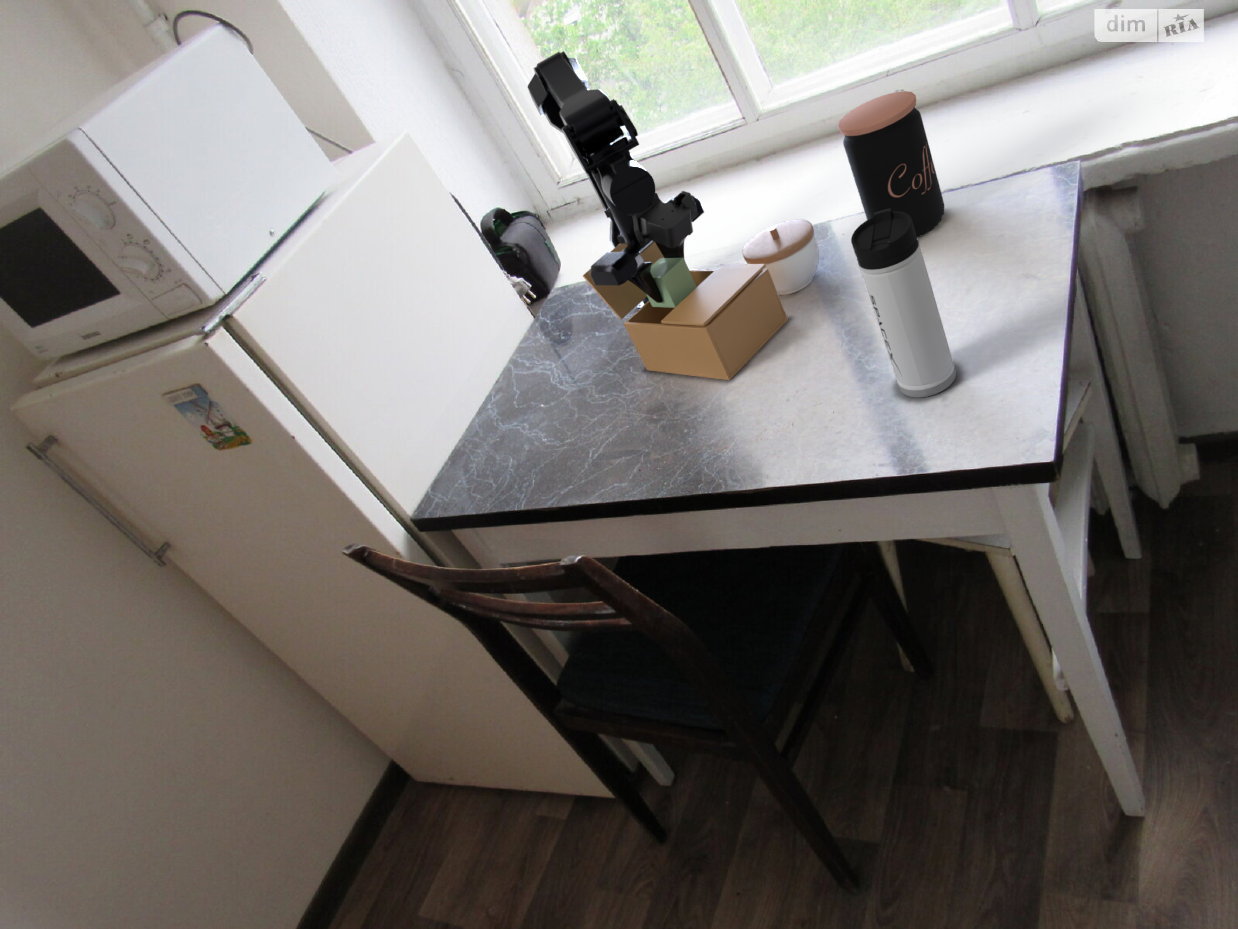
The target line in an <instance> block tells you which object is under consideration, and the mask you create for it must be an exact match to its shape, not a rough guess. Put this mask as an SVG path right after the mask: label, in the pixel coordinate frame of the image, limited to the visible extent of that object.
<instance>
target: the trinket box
mask: <svg viewBox="0 0 1238 929" xmlns="http://www.w3.org/2000/svg"><path fill="white" fill-rule="evenodd" d="M741 254H742V257H743V259H744V261H745V263H746V264H765V265H766V267H765V268H764V269H768V270H769V273H770V275H771V278H772V280H773V283H774V285H775V288H776V291H777V293H778V296H786V295H791V294H794V293H797V292H799V291H801V290H803V289H805V288H806V287H808V286H809V285H810V284H811V283H812V282H813V280H814V275H815V274H816V271H817V270H818V266H819V263H820V249H819V244H818V240H817V237H816V234H815V229H814V225H813V224H812V222H810V221H809V220H807V219H804V218H803V219H801V218H796V219H795V218H794V219H790V220H784V221H782V222H779V223H776V224H773V225H771V226H769V227H767V228H764V229H763V230H761V231H760V232H758V233H757V234H755V235H754V236H752V237H751V238H750V239H749V240H748V241H747V242H746V243H745V245H744V246H743V249H742V253H741Z"/></svg>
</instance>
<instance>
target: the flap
mask: <svg viewBox="0 0 1238 929" xmlns="http://www.w3.org/2000/svg"><path fill="white" fill-rule="evenodd" d="M626 247H627V244H619V245H618V246H617V247H615V248H613V249H612V250H611V251H610V252H622V251H623V250H624V249H625V248H626ZM641 256H642V258H643V260H644V262H652V265H653V264H654V263H655V262H656V261H657V260H659V259H660V258H664V257H663V255H662V253H661V252H660V250H659V248H658V247H657V245H656V243H655V242H654V243H652V244H651V245H650V246H649V247H648V248H647V249H646V250H644V251H643V252H642V253H641ZM590 270H591V268H589V270H587V271H586V272H585V273H584V274H582V277H583V279H584V280H586V282H587V284H588V285H590V287H591V288H592V289H593V290H594V291H595V293H596V294H597V295H598V296H599V297H600V298H601V299H602V300H603V302H604V303H605V304H606V305H607V306H608V308H609V309H610V310H611V311H612V312H613V313H614V315H616V317H617V318H618V319H619V320H620V321H621V320H623V319H624V318H625V317H627V315H629V313H630V312H632V310H634V309H635V308H637V306H638V305H639V304H640V303H641V302H642V300H643V299H645V298H646V297H647V295H646V293H644V292H643V291H642V290H641V289H639V288H638V287H637V286H636V285H634V284H633V283H631V282H630V281H628V280H627V281H626V282H625V283H624V284H621V285H619V286H616V285H595V283H594V281H593V279H592V277H591V274H590Z"/></svg>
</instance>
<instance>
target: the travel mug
mask: <svg viewBox="0 0 1238 929" xmlns="http://www.w3.org/2000/svg"><path fill="white" fill-rule="evenodd" d="M873 216H874V217H872V218H870V219H868V220H867V219H866V220H865V221H864V222H862V223H861V224H859V226H857V228H856V229H854V231H853V233H852V235H851V239H850V242H851V246H852V249H853V252H854V255H855V257H856V261H857V265H858V268H859V270H860V274H861V278H862V280H863V284H864V287H865V290H866V293H867V296H868V298H869V301H870V304H871V308H872V310H873V315H874V316H875V320H876V323H877V326H878V328H879V332H880V334H881V335H880V336H881V337H882V341H883V344H884V347H885V350H886V353H887V355H888V359H889V362H890V364H891V368H892V370H893V373H894V377H895V379H896V383H897V386H898V390H900V392H901V393H902V394H903V395H905V396H907V397H911V398H926V397H931V396H934V395H937V394H939V393H941V392H943V391H944V390H946V389H948V387H950V386H951V385H952V384H953V383H954V381H955V379H956V376H957V370H956V367H955V363H954V360H953V356H952V353H951V349H950V346H949V342H948V338H947V336H946V331H945V328H944V324H943V322H942V318H941V315H940V310H939V307H938V304H937V301H936V297H935V294H934V290H933V287H932V286H933V285H932V283H931V279H930V276H929V272H928V269H927V265H926V262H925V259H924V255H923V252H922V249H921V244H920V242H919V239H918V237H916V232H915V229H914V225H913V222H912V219H911V217H910V216H909V215H908V214H907V213H904V212H900V211H893V212H892V211H891V208H889V209H886V210H882V211H879V212H875V213H874V215H873Z"/></svg>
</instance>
